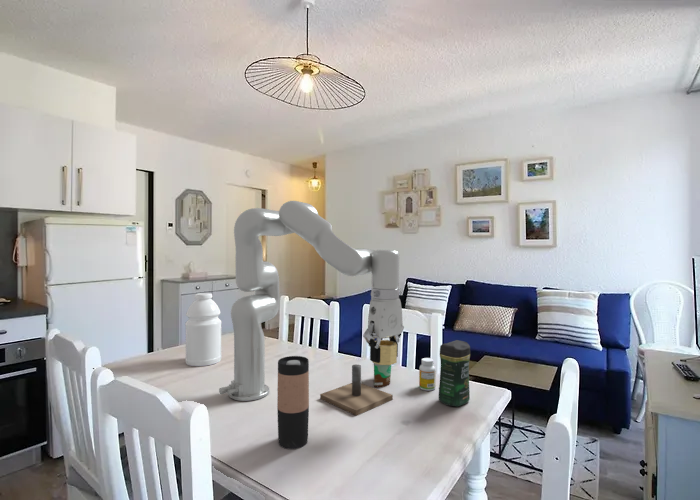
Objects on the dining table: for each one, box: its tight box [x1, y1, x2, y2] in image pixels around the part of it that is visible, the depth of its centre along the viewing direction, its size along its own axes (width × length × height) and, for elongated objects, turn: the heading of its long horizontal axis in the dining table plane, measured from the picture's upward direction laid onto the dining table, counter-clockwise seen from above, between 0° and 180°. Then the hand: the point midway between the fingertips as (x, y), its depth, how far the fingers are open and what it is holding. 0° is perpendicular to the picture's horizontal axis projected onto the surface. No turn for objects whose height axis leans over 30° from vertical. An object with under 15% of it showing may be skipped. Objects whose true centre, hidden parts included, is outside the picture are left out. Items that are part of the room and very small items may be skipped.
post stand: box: [319, 364, 394, 417], centre depth 117 cm, size 16×16×10 cm
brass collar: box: [371, 339, 398, 366], centre depth 103 cm, size 7×7×5 cm
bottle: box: [184, 292, 223, 367], centre depth 154 cm, size 14×14×28 cm
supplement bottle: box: [418, 357, 437, 392], centre depth 127 cm, size 5×5×10 cm
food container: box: [373, 363, 392, 388], centre depth 131 cm, size 12×6×10 cm, turn 168°
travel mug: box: [276, 355, 310, 450], centre depth 92 cm, size 8×8×20 cm
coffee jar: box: [438, 339, 471, 407], centre depth 116 cm, size 10×8×19 cm
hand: (384, 358), depth 103 cm, fingers closed on brass collar, 6 cm apart
